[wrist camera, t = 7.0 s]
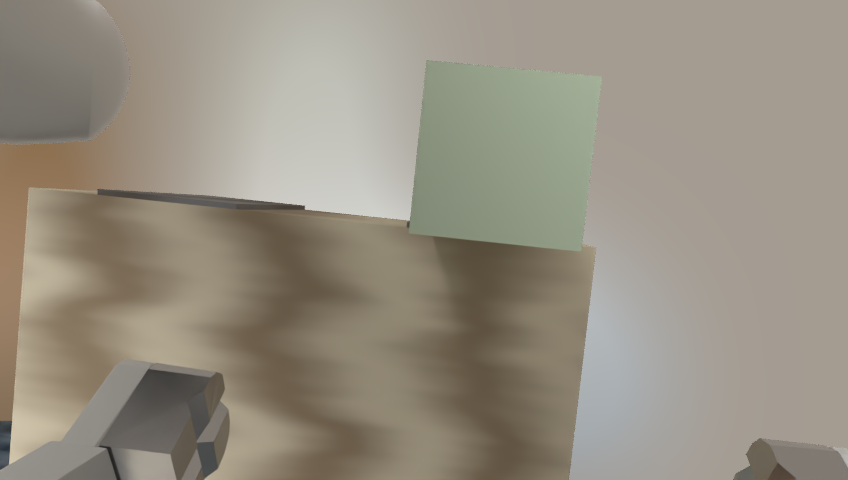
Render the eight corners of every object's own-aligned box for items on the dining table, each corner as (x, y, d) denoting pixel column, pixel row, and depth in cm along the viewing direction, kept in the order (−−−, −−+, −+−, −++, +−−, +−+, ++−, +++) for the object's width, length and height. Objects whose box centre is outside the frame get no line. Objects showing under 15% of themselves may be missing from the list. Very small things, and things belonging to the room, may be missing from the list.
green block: (408, 233, 13) (426, 60, 13) (440, 218, 37) (446, 157, 37) (581, 251, 13) (601, 76, 13) (501, 224, 37) (507, 164, 37)
